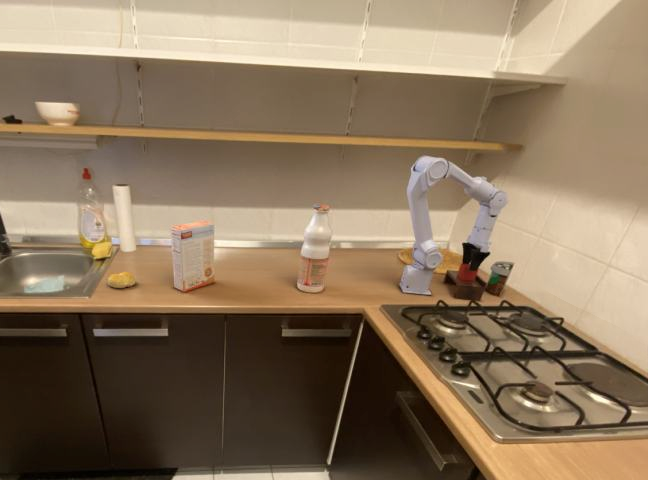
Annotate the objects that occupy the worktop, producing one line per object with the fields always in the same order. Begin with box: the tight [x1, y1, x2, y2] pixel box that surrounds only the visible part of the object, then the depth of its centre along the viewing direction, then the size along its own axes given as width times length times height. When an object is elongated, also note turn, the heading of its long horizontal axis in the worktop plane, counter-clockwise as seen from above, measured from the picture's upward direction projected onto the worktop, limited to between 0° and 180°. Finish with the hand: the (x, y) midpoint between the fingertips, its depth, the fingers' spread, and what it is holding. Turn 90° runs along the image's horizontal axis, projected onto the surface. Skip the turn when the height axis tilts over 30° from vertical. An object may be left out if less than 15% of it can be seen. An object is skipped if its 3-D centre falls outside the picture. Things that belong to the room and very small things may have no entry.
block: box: [457, 262, 480, 281], centre depth 135 cm, size 4×4×4 cm
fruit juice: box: [296, 204, 333, 294], centre depth 129 cm, size 9×9×28 cm
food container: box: [485, 260, 515, 297], centre depth 138 cm, size 12×6×10 cm, turn 141°
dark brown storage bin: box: [442, 269, 488, 302], centre depth 137 cm, size 8×16×6 cm, turn 169°
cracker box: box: [170, 220, 215, 293], centre depth 129 cm, size 14×6×21 cm, turn 134°
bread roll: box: [107, 271, 136, 289], centre depth 131 cm, size 8×9×4 cm
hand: (468, 267), depth 135 cm, fingers open, 7 cm apart
